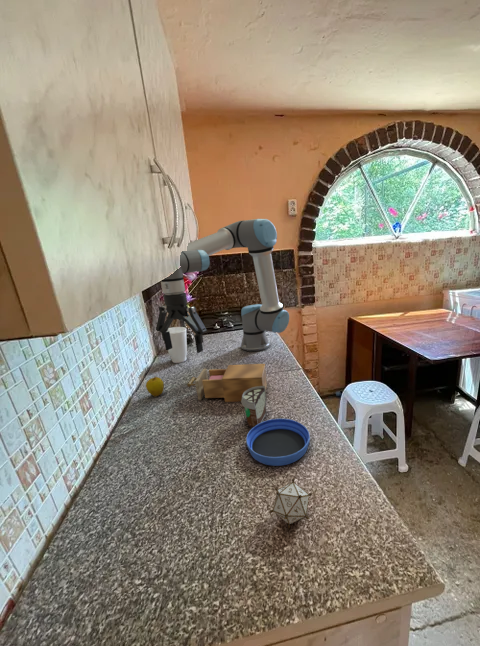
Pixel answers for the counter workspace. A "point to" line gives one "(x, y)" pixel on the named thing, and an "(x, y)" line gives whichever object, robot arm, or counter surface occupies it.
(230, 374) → the cabinet
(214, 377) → the block
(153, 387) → the apple
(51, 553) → the counter surface
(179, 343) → the cup
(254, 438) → the bowl
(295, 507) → the game die
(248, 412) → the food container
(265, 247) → the robot arm
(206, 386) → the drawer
